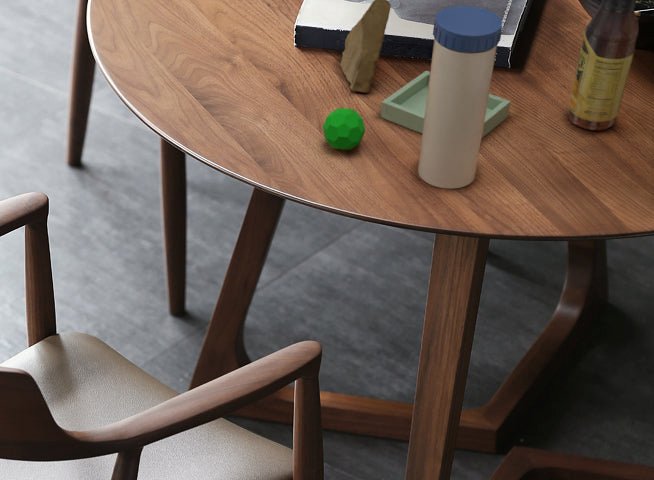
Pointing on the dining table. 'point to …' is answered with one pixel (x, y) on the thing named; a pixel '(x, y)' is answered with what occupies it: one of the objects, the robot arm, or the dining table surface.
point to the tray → (411, 106)
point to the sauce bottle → (604, 65)
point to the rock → (365, 46)
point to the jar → (454, 115)
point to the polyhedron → (344, 129)
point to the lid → (467, 28)
